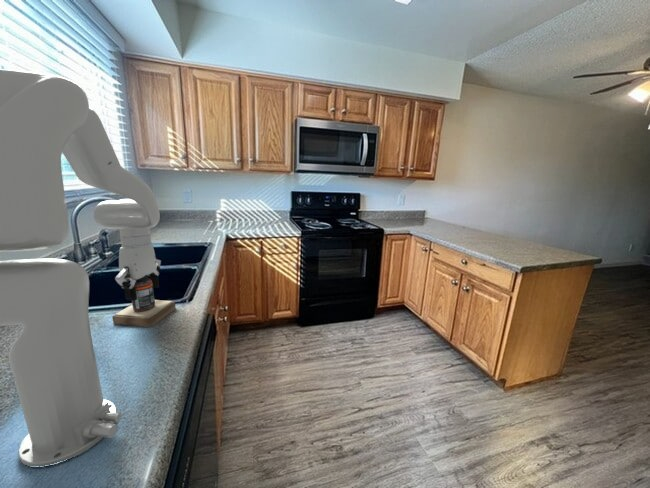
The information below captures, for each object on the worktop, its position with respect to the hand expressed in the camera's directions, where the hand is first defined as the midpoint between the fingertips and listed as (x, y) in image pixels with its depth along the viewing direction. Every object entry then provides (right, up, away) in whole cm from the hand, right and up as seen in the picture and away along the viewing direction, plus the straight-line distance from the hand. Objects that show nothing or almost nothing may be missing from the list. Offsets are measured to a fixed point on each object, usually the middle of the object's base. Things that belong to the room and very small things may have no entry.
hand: (143, 293), depth 87 cm
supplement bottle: (0, -5, +1) cm, 5 cm away
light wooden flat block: (0, -8, +2) cm, 8 cm away
